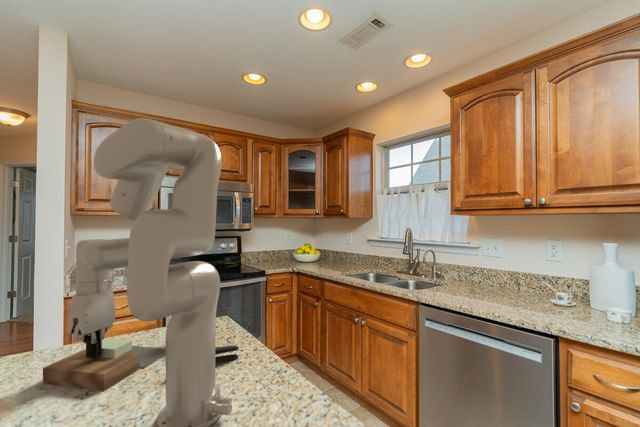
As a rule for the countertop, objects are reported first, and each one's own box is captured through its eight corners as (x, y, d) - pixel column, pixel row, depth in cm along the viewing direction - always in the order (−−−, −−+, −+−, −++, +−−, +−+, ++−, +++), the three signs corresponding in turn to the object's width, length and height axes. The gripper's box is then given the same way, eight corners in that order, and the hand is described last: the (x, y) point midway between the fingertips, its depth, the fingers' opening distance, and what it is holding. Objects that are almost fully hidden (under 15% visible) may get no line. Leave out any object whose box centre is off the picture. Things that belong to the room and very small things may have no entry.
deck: (139, 369, 85) (139, 354, 85) (104, 391, 74) (104, 374, 74) (84, 363, 88) (84, 349, 88) (42, 383, 78) (42, 367, 78)
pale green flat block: (132, 349, 88) (132, 340, 88) (114, 358, 83) (114, 349, 83) (104, 346, 90) (104, 338, 90) (85, 356, 84) (85, 347, 84)
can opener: (176, 382, 78) (176, 360, 78) (170, 371, 84) (170, 350, 84) (243, 362, 89) (243, 342, 89) (234, 354, 94) (234, 335, 95)
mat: (172, 350, 97) (172, 349, 97) (143, 368, 85) (144, 367, 85) (117, 345, 101) (117, 344, 101) (82, 362, 89) (82, 361, 89)
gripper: (106, 280, 90) (106, 344, 90) (53, 292, 75) (52, 369, 75) (128, 281, 89) (128, 346, 88) (79, 294, 74) (79, 372, 74)
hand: (93, 356), depth 82 cm, fingers closed
